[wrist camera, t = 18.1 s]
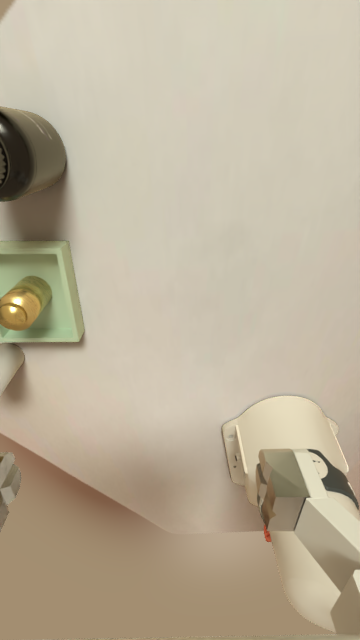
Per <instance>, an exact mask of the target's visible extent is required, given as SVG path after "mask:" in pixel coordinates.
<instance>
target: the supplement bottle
mask: <svg viewBox="0 0 360 640" xmlns="http://www.w3.org/2000/svg"><path fill="white" fill-rule="evenodd" d="M65 163H66V155H65V149H64V145H63V142H62V140H61V138H60V136H59V134H58V133H57V131H56V130H55V129H54V127H53V126H52V125H51V124H50V123H49V122H48V121H47V120H45V119H44V118H42V117H41V116H39V115H37V114H34V113H31V112H28V111H23V110H18V109H12V108H7V107H1V106H0V202H6V201H12V200H15V199H18V198H21V197H24V196H27V195H29V194H32V193H35V192H38V191H40V190H43V189H46V188H48V187H50V186H52V185H53V184H55V183H56V182H57V181H58V180H59V179H60V177H61V176H62V174H63V171H64V168H65Z"/></svg>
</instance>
